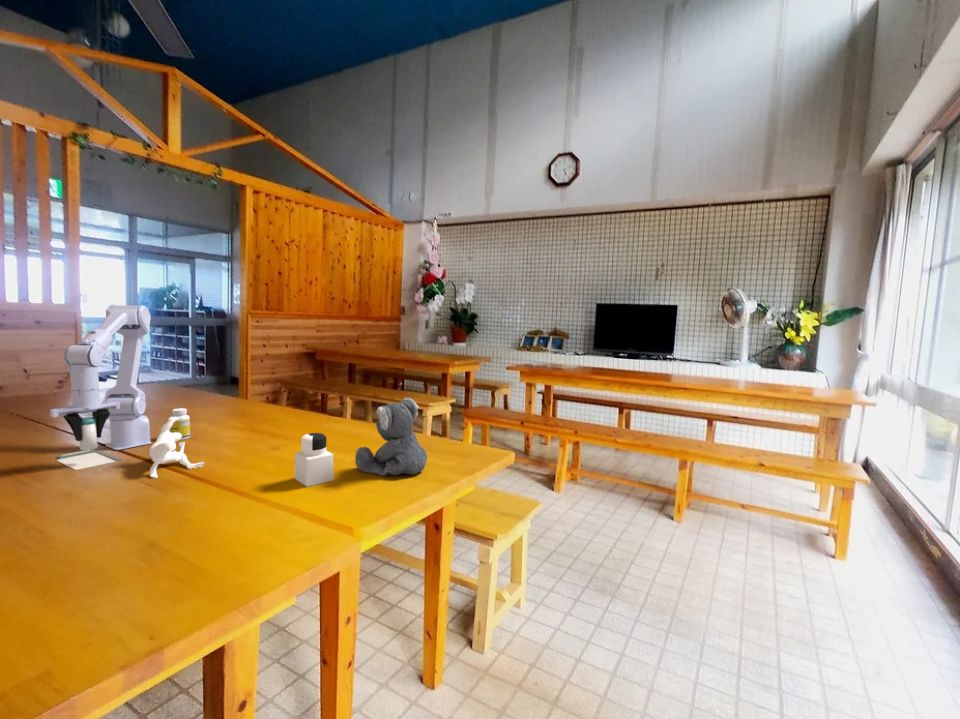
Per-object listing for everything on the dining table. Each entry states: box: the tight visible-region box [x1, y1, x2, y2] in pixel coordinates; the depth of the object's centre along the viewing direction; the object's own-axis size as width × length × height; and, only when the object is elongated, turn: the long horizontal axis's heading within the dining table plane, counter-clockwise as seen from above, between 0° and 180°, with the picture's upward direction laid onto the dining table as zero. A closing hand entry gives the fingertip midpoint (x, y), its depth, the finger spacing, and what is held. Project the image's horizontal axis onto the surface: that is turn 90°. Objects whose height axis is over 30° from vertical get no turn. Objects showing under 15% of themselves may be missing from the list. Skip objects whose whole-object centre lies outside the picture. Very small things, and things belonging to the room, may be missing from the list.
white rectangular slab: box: [56, 450, 122, 471], centre depth 129 cm, size 10×14×1 cm
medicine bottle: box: [294, 432, 334, 488], centre depth 118 cm, size 7×7×12 cm
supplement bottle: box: [170, 407, 191, 441], centre depth 153 cm, size 5×5×10 cm
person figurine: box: [148, 416, 205, 479], centre depth 126 cm, size 13×13×18 cm
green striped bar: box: [56, 449, 96, 459], centre depth 134 cm, size 8×2×1 cm, turn 148°
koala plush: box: [355, 397, 428, 477], centre depth 128 cm, size 17×18×20 cm
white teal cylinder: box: [79, 416, 98, 451], centre depth 126 cm, size 4×4×8 cm
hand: (88, 438), depth 126 cm, fingers closed on white teal cylinder, 4 cm apart
